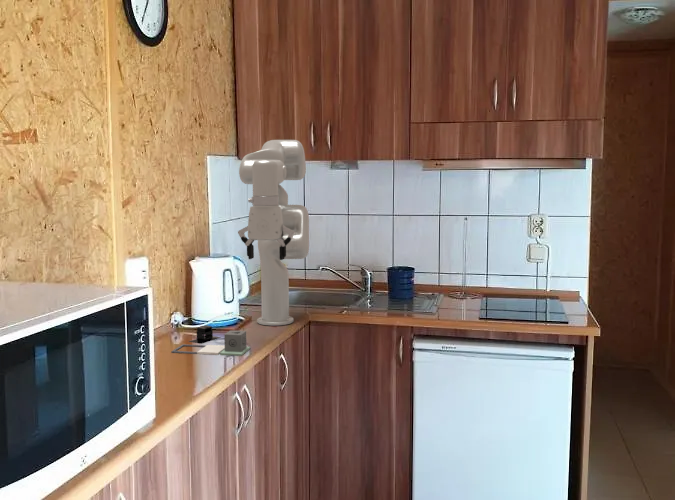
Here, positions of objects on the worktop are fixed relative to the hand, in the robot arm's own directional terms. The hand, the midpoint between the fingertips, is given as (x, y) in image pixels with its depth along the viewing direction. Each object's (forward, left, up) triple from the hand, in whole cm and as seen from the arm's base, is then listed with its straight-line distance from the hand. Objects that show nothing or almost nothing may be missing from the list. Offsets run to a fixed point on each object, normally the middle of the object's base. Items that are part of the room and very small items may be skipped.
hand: (266, 259), depth 208 cm
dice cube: (+10, -7, -26) cm, 28 cm away
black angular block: (-3, -21, -27) cm, 34 cm away
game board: (+10, -14, -26) cm, 31 cm away
